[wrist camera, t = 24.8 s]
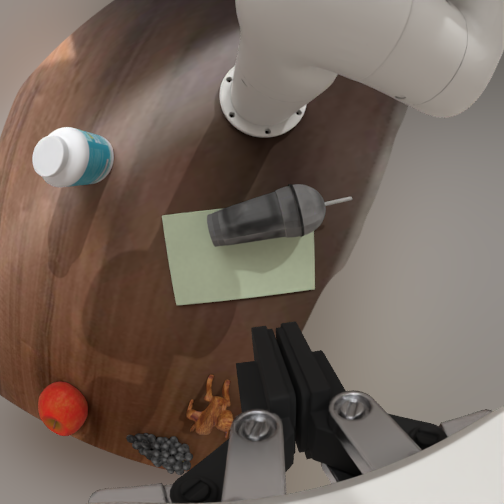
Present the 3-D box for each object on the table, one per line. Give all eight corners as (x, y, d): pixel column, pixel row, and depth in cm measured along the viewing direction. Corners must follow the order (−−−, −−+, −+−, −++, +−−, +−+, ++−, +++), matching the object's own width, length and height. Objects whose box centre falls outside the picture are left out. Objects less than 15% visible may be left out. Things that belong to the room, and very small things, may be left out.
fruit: (119, 463, 43) (188, 483, 45) (126, 436, 44) (199, 458, 46) (125, 442, 51) (186, 462, 54) (132, 416, 52) (197, 437, 55)
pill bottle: (119, 136, 37) (80, 123, 24) (111, 186, 39) (69, 192, 26) (77, 134, 36) (29, 124, 23) (70, 181, 38) (20, 187, 25)
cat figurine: (205, 430, 53) (206, 481, 40) (176, 422, 51) (171, 473, 38) (242, 374, 50) (250, 429, 36) (207, 362, 48) (207, 418, 35)
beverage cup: (200, 203, 36) (355, 168, 34) (210, 205, 43) (341, 175, 41) (214, 260, 36) (368, 224, 35) (222, 253, 44) (351, 222, 42)
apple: (43, 390, 47) (24, 420, 36) (58, 367, 46) (36, 399, 35) (80, 418, 49) (67, 451, 39) (99, 399, 48) (84, 434, 38)
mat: (162, 215, 41) (161, 216, 40) (311, 200, 43) (312, 201, 42) (176, 304, 45) (176, 305, 44) (313, 287, 47) (314, 289, 46)
